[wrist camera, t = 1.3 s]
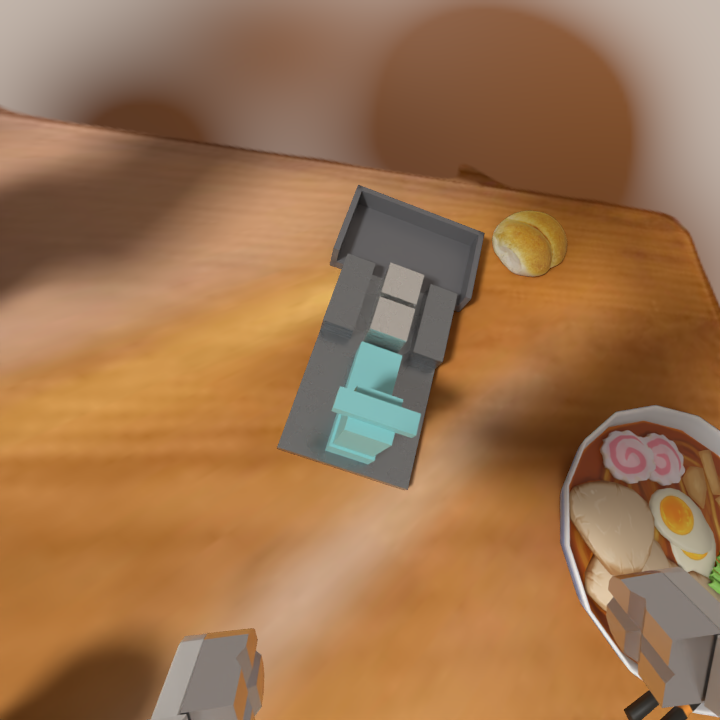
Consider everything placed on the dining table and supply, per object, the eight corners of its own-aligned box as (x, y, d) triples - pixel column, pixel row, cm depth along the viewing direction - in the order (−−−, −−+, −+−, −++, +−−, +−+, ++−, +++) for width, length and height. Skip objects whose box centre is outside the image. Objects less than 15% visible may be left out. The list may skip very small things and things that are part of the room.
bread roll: (568, 257, 52) (590, 237, 48) (523, 290, 48) (543, 271, 45) (524, 210, 53) (543, 187, 49) (477, 238, 50) (494, 216, 46)
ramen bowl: (644, 390, 46) (716, 365, 39) (773, 600, 40) (887, 619, 33) (461, 474, 39) (507, 464, 31) (588, 749, 33) (682, 818, 25)
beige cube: (361, 345, 40) (370, 328, 37) (370, 315, 42) (380, 296, 38) (394, 357, 40) (406, 341, 37) (402, 327, 42) (415, 309, 38)
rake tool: (314, 446, 36) (327, 424, 27) (346, 347, 40) (368, 300, 31) (378, 467, 36) (412, 452, 28) (404, 368, 40) (441, 327, 32)
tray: (329, 264, 44) (333, 248, 41) (353, 203, 48) (358, 184, 45) (458, 312, 45) (471, 298, 42) (472, 249, 49) (484, 233, 46)
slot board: (277, 448, 36) (277, 443, 33) (343, 269, 44) (347, 253, 41) (404, 490, 37) (414, 488, 34) (446, 307, 45) (457, 293, 42)
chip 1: (371, 311, 42) (381, 291, 38) (380, 284, 43) (390, 262, 40) (403, 323, 42) (416, 304, 38) (411, 295, 43) (424, 274, 40)
